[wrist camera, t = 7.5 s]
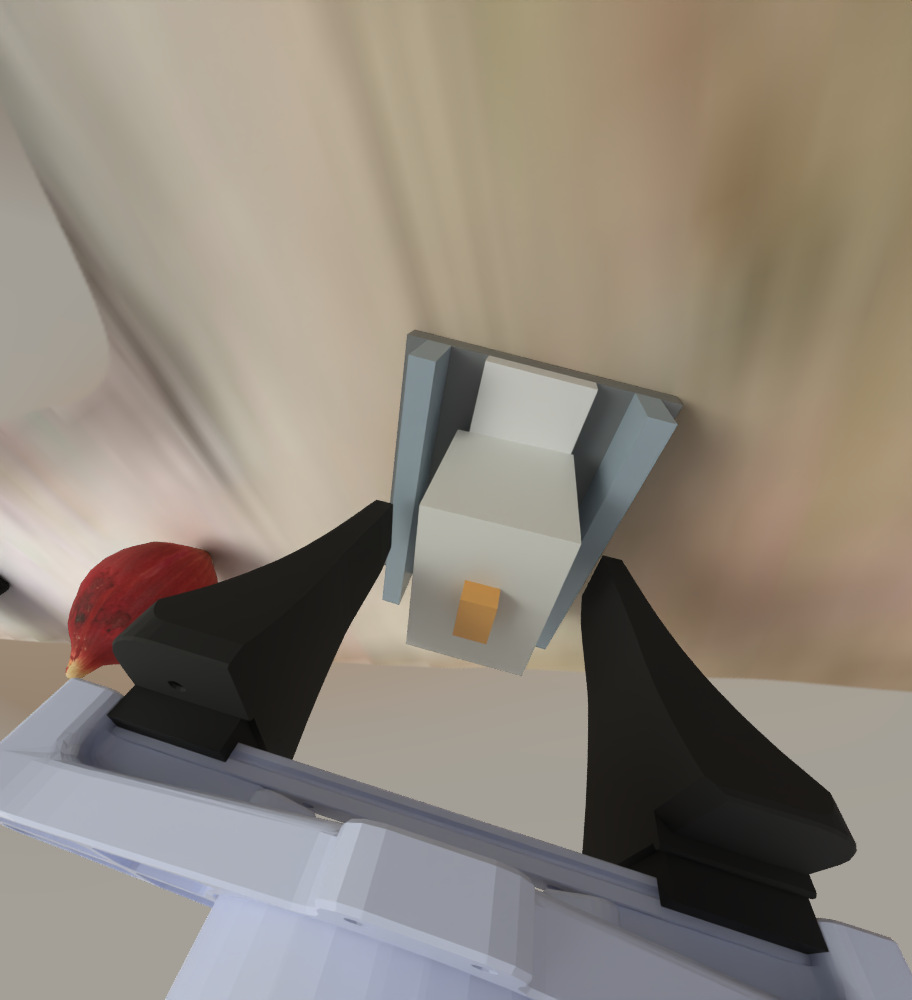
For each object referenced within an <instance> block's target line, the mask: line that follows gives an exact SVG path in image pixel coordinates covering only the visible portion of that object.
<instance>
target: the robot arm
mask: <svg viewBox="0 0 912 1000" xmlns="http://www.w3.org/2000/svg"><path fill="white" fill-rule="evenodd" d="M392 523H393V504H391V503H387V502H383V501H379V500H376V501H374V502H373V503H371V504H370V505H368V506H367V507H365V508H364V509H363V510H361V511H360V512H358V513H357V514H355V515H354V516H353V517H351V518H350V519H348V520H347V521H345V522H344V523H342V524H341V525H339V526H338V527H336V528H335V529H333V530H332V531H330V532H329V533H327V534H325V535H324V536H322V537H320V538H319V539H317V540H315V541H313V542H312V543H310V544H308V545H307V546H305V547H303V548H301V549H299V550H297V551H295V552H294V553H292V554H289V555H287V556H285V557H283V558H281V559H279V560H277V561H275V562H272V563H270V564H267V565H265V566H262V567H260V568H258V569H255V570H253V571H250V572H248V573H245V574H242V575H240V576H237V577H234V578H231V579H228V580H225V581H222V582H219V583H216V584H213V585H210V586H206V587H203V588H199V589H196V590H192V591H188V592H184V593H180V594H177V595H173V596H169V597H165V598H161V599H159V600H157V601H156V602H155V603H154V604H153V605H152V606H150V607H149V608H148V609H147V610H146V611H145V612H144V613H143V614H141V615H140V616H139V617H138V618H137V619H136V620H135V621H134V622H133V623H132V624H130V625H129V626H128V627H127V628H126V629H125V630H124V631H123V632H122V633H120V634H119V635H118V636H117V637H116V638H115V639H114V641H113V642H112V649H113V654H114V656H115V657H116V659H117V661H118V662H119V663H120V665H121V666H122V668H123V669H124V670H125V672H126V673H127V674H128V676H129V677H130V678H131V680H132V681H133V683H134V684H135V686H134V687H133V688H132V689H131V690H130V691H129V692H128V693H127V694H126V695H125V696H123V695H122V694H120V693H119V692H117V691H116V690H113V689H111V688H108V687H105V686H102V685H99V684H96V683H92V682H89V681H86V680H83V679H80V678H77V677H75V678H71V679H70V680H69V681H67V682H66V683H65V684H64V685H63V686H62V687H61V688H60V689H58V691H56V692H55V693H54V694H53V695H52V696H51V697H50V698H49V699H47V700H46V701H45V702H44V703H43V704H42V705H41V706H40V707H39V708H37V709H36V710H35V711H34V712H33V713H32V714H31V715H30V716H29V717H28V718H26V719H25V720H24V721H23V722H22V723H21V724H20V725H19V726H18V727H17V728H15V729H14V730H13V731H12V732H11V733H10V734H9V735H8V736H6V738H4V739H3V740H2V741H1V742H0V824H1V825H3V826H5V827H8V828H9V829H11V830H13V831H16V832H18V833H21V834H24V835H26V836H29V837H32V838H34V839H37V840H40V841H42V842H45V843H48V844H50V845H53V846H56V847H58V848H61V849H63V850H66V851H69V852H71V853H74V854H76V855H79V856H82V857H84V858H87V859H90V860H92V861H94V862H97V863H100V864H102V865H105V866H107V867H110V868H112V869H115V870H117V871H120V872H122V873H125V874H128V875H130V876H133V877H135V878H137V879H140V880H143V881H145V882H148V883H150V884H153V885H155V886H158V887H160V888H163V889H165V890H168V891H170V892H173V893H175V894H178V895H180V896H183V897H186V898H188V899H191V900H193V901H195V902H198V903H201V904H203V905H206V906H208V907H211V908H212V909H211V911H210V913H209V915H208V917H207V919H206V921H205V923H204V924H203V926H202V928H201V931H200V932H199V934H198V936H197V938H196V940H195V942H194V944H193V946H192V948H191V950H190V952H189V954H188V956H187V957H186V959H185V962H184V963H183V965H182V967H181V969H180V971H179V973H178V975H177V977H176V979H175V981H174V983H173V985H172V987H171V989H170V991H169V992H168V994H167V997H166V998H165V1000H912V974H911V971H910V969H909V967H908V965H907V963H906V961H905V959H904V957H903V955H902V953H901V951H900V949H899V947H898V945H897V943H896V942H894V940H892V939H891V938H889V937H886V936H883V935H880V934H877V933H874V932H871V931H868V930H865V929H862V928H858V927H855V926H852V925H849V924H846V923H842V922H839V921H835V920H831V919H823V918H816V917H815V914H814V912H813V909H812V906H811V904H810V901H809V899H808V898H810V899H815V898H816V894H817V893H816V890H815V888H814V886H813V883H812V880H811V879H810V875H809V874H811V873H814V872H818V871H821V870H825V869H828V868H831V867H834V866H838V865H841V864H843V863H845V862H847V861H849V860H850V859H851V858H852V857H853V856H854V854H855V853H856V851H857V850H856V843H855V841H854V839H853V837H852V835H851V833H850V831H849V829H848V827H847V825H846V823H845V821H844V819H843V817H842V815H841V813H840V811H839V809H838V807H837V805H836V803H835V801H834V799H833V797H832V795H831V793H830V792H828V791H827V790H826V789H825V788H824V787H823V786H822V785H820V784H819V783H818V782H817V781H816V780H814V779H813V778H812V777H811V776H810V775H808V774H807V773H806V772H805V771H804V770H802V769H801V768H800V767H799V766H798V765H797V764H795V763H794V762H793V761H792V760H790V759H789V758H788V757H787V756H786V755H785V754H783V753H782V752H781V751H780V750H779V749H778V748H777V747H776V746H775V745H773V744H772V743H771V742H770V741H769V740H768V739H767V738H766V737H765V736H764V735H763V734H761V733H760V732H759V731H758V730H757V729H756V728H755V727H754V726H753V725H752V724H751V723H750V722H749V721H747V720H746V718H744V717H743V716H742V715H741V714H740V713H739V712H738V711H737V710H736V709H735V708H734V707H733V706H732V705H731V704H730V703H729V701H728V700H727V699H726V698H725V697H724V696H723V695H722V694H721V693H720V692H719V691H718V690H717V689H716V688H715V687H714V686H713V685H712V684H711V682H710V681H709V680H708V679H707V678H706V677H705V676H704V675H703V674H702V672H701V671H700V670H699V669H698V668H697V666H696V665H695V664H694V663H693V662H692V661H691V659H690V658H689V657H688V656H687V655H686V653H685V652H684V651H683V650H682V648H681V647H680V646H679V645H678V643H677V642H676V641H675V639H674V638H673V637H672V635H671V634H670V633H669V631H668V630H667V629H666V627H665V626H664V624H663V623H662V622H661V620H660V619H659V617H658V616H657V614H656V613H655V612H654V610H653V609H652V607H651V606H650V604H649V603H648V601H647V599H646V598H645V596H644V595H643V593H642V592H641V590H640V588H639V587H638V585H637V584H636V582H635V581H634V579H633V577H632V576H631V574H630V572H629V571H628V569H627V568H626V566H625V565H624V563H623V561H622V560H619V559H615V558H611V557H607V556H602V558H601V560H600V562H599V564H598V566H597V568H596V570H595V572H594V574H593V576H592V578H591V580H590V581H589V583H588V585H587V587H586V589H585V591H584V593H583V595H582V605H581V631H582V642H583V652H584V662H585V672H586V681H587V691H588V764H587V765H588V767H587V788H586V809H585V823H584V839H583V851H582V854H581V853H578V852H575V851H572V850H569V849H566V848H563V847H559V846H557V845H553V844H550V843H547V842H544V841H541V840H538V839H535V838H532V837H529V836H526V835H523V834H519V833H516V832H513V831H510V830H507V829H504V828H501V827H498V826H494V825H491V824H488V823H485V822H482V821H479V820H476V819H473V818H470V817H467V816H464V815H461V814H457V813H454V812H451V811H448V810H445V809H442V808H439V807H436V806H433V805H430V804H427V803H424V802H421V801H417V800H414V799H411V798H408V797H405V796H402V795H399V794H396V793H393V792H390V791H387V790H383V789H380V788H377V787H374V786H371V785H368V784H365V783H361V782H358V781H356V780H353V779H349V778H346V777H343V776H340V775H337V774H334V773H331V772H328V771H325V770H322V769H318V768H315V767H312V766H309V765H306V764H303V763H300V762H297V761H294V760H292V759H293V757H294V754H295V752H296V749H297V746H298V744H299V741H300V739H301V736H302V734H303V731H304V728H305V726H306V723H307V721H308V718H309V716H310V713H311V711H312V709H313V706H314V704H315V701H316V699H317V697H318V694H319V692H320V689H321V687H322V685H323V682H324V680H325V678H326V676H327V673H328V671H329V669H330V666H331V664H332V662H333V660H334V657H335V655H336V653H337V651H338V649H339V646H340V644H341V642H342V640H343V638H344V636H345V634H346V632H347V630H348V628H349V626H350V624H351V622H352V621H353V619H354V617H355V616H356V614H357V612H358V610H359V609H360V607H361V605H362V604H363V602H364V600H365V598H366V597H367V595H368V593H369V592H370V590H371V588H372V586H373V585H374V583H375V581H376V580H377V578H378V576H379V574H380V572H381V571H382V568H383V566H384V564H385V561H386V559H387V557H388V554H389V552H390V549H391V545H392ZM315 813H316V814H319V815H322V816H325V817H328V818H331V819H334V820H337V821H340V822H343V823H345V824H343V823H339V822H334V821H330V820H325V819H321V818H316V816H315ZM535 887H536V888H539V889H542V890H544V891H543V892H541V891H538V890H536V889H535Z"/></svg>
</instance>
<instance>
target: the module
mask: <svg viewBox="0 0 912 1000" xmlns="http://www.w3.org/2000/svg"><path fill="white" fill-rule="evenodd" d="M580 546H581V534H580V523H579V511H578V500H577V489H576V477H575V466H574V455H572V454H567V453H563V452H558V451H554V450H549V449H545V448H540V447H535V446H531V445H526V444H522V443H517V442H513V441H508V440H504V439H499V438H495V437H490V436H485V435H481V434H476V433H472V432H467V431H463V430H457V432H456V434H455V436H454V438H453V440H452V442H451V444H450V446H449V448H448V450H447V452H446V454H445V456H444V458H443V460H442V462H441V464H440V466H439V468H438V470H437V471H436V473H435V475H434V477H433V479H432V481H431V483H430V485H429V487H428V489H427V491H426V493H425V495H424V497H423V499H422V501H421V503H420V505H419V515H418V525H417V536H416V546H415V557H414V567H413V578H412V588H411V599H410V609H409V620H408V630H407V640H406V644H408V645H412V646H415V647H419V648H422V649H426V650H430V651H433V652H437V653H440V654H444V655H447V656H451V657H455V658H458V659H462V660H465V661H469V662H472V663H476V664H480V665H483V666H487V667H490V668H494V669H497V670H501V671H505V672H508V673H512V674H515V675H519V676H522V674H523V672H524V670H525V668H526V666H527V663H528V661H529V659H530V657H531V655H532V652H533V650H534V648H535V646H536V643H537V641H538V639H539V637H540V635H541V632H542V630H543V628H544V626H545V624H546V621H547V619H548V617H549V615H550V612H551V610H552V608H553V606H554V604H555V601H556V599H557V597H558V595H559V593H560V590H561V588H562V586H563V584H564V581H565V579H566V577H567V575H568V573H569V570H570V568H571V566H572V564H573V562H574V559H575V557H576V555H577V553H578V550H579V548H580Z"/></svg>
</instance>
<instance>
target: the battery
mask: <svg viewBox="0 0 912 1000" xmlns="http://www.w3.org/2000/svg"><path fill="white" fill-rule="evenodd" d="M8 589H9V584H8V583H7V582H6V581H4V580H3V579H2V578H1V577H0V595H1V594H3V593H4V592H6V591H7V590H8Z"/></svg>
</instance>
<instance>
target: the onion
mask: <svg viewBox="0 0 912 1000" xmlns="http://www.w3.org/2000/svg"><path fill="white" fill-rule="evenodd" d="M216 583H218V580H217V576H216V572H215V569H214V565H213V563H212V558H211V557H210V555H209V553H207V552H206V551H204V550H201V549H197V548H193V547H189V546H184V545H179V544H174V543H166V542H150V543H146V544H141V545H137V546H133V547H129V548H126V549H123V550H121V551H119V552H117V553H115V554H113V555H111V556H109V557H107V558H105V559H104V560H103V561H101V562H100V563H99V564H98V565H97V566H95V567H94V568H93V569H92V570H90V572H89V573H88V575H87V576H86V577H85V579H84V580H83V582H82V583H81V585H80V587H79V590H78V593H77V596H76V598H75V600H74V602H73V605H72V608H71V610H70V614H69V619H68V630H69V636H70V639H71V647H72V650H71V656H70V661H69V664H68V666H67V668H66V676H67V677H68V679H71V678H75V677H77V678H83V677H84V676H85V675H86V674H89V673H91V672H92V671H94V670H96V669H97V668H99V667H101V666H103V665H112V664H120V663H119V662H118V661H117V659H116V657H115V656H114V654H113V649H112V642H113V641H114V639H115V638H116V637H117V636H118V635H119V634H120V633H122V632H123V631H124V630H125V629H126V628H127V627H128V626H129V625H130V624H132V623H133V622H134V621H135V620H136V619H137V618H138V617H139V616H140V615H141V614H143V613H144V612H145V611H146V610H147V609H148V608H149V607H150V606H152V605H153V604H154V603H155V602H156V601H157V600H159V599H161V598H165V597H169V596H173V595H177V594H180V593H184V592H188V591H192V590H196V589H199V588H203V587H206V586H210V585H213V584H216Z"/></svg>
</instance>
